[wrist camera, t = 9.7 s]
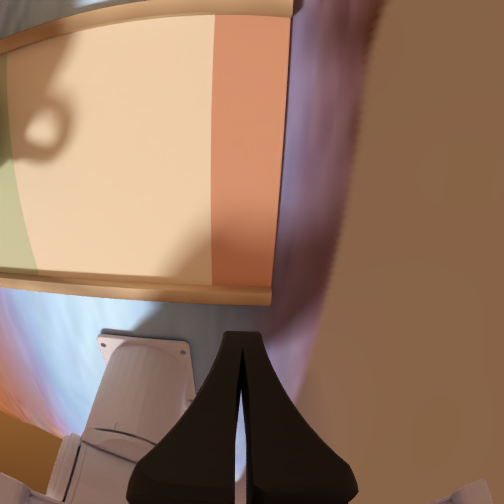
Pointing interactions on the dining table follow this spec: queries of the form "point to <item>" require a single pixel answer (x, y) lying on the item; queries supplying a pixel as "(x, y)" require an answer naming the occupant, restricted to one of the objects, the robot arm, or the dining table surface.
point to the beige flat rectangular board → (145, 151)
